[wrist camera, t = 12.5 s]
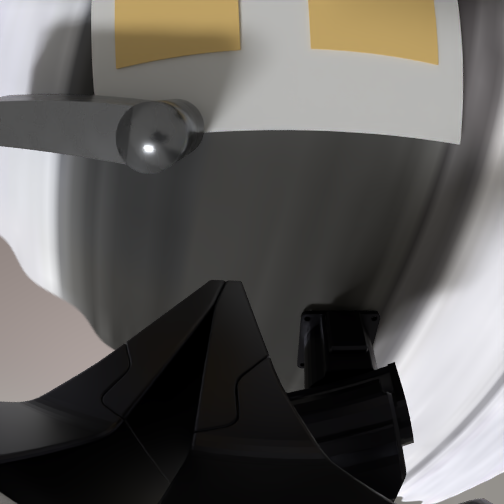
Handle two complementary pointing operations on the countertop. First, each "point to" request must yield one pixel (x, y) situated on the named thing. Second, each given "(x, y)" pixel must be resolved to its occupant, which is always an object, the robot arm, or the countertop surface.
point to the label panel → (289, 62)
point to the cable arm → (103, 128)
